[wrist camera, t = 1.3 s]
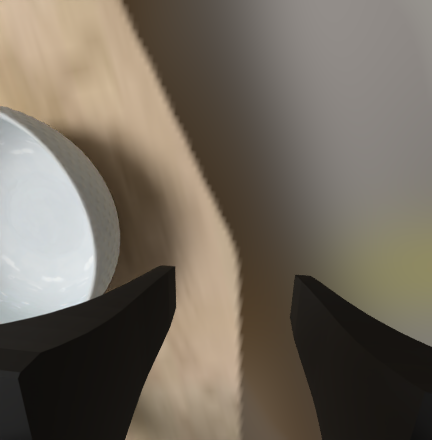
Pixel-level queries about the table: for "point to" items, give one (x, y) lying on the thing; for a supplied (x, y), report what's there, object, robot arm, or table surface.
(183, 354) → the table surface
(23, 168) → the cereal bowl
